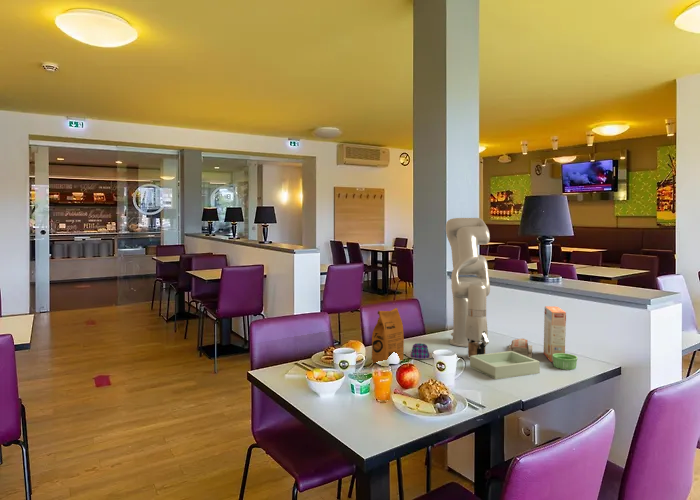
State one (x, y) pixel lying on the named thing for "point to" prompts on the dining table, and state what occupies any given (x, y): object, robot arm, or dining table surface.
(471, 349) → the walnut block
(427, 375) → the dining table surface
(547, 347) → the cracker box
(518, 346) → the packaged product
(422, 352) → the purple plaid hat
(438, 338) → the dining table surface
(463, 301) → the robot arm
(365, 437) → the dining table surface
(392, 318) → the coffee package
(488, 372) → the bin
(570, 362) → the ramekin
